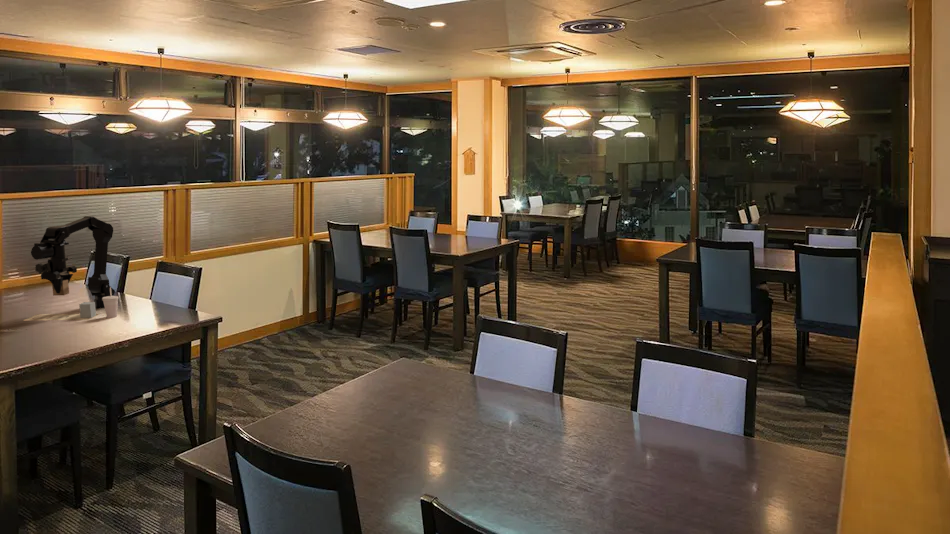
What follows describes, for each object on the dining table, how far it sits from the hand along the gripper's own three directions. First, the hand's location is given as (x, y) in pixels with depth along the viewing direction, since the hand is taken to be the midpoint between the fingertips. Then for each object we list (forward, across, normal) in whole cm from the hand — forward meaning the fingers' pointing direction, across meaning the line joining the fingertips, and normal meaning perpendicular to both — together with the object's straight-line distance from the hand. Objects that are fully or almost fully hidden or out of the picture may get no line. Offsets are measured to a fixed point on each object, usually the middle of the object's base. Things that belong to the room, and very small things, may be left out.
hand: (61, 292), depth 309 cm
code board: (+12, 0, 0) cm, 12 cm away
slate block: (+11, 0, +10) cm, 15 cm away
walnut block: (+1, 0, 0) cm, 1 cm away
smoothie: (+12, +1, +21) cm, 24 cm away
